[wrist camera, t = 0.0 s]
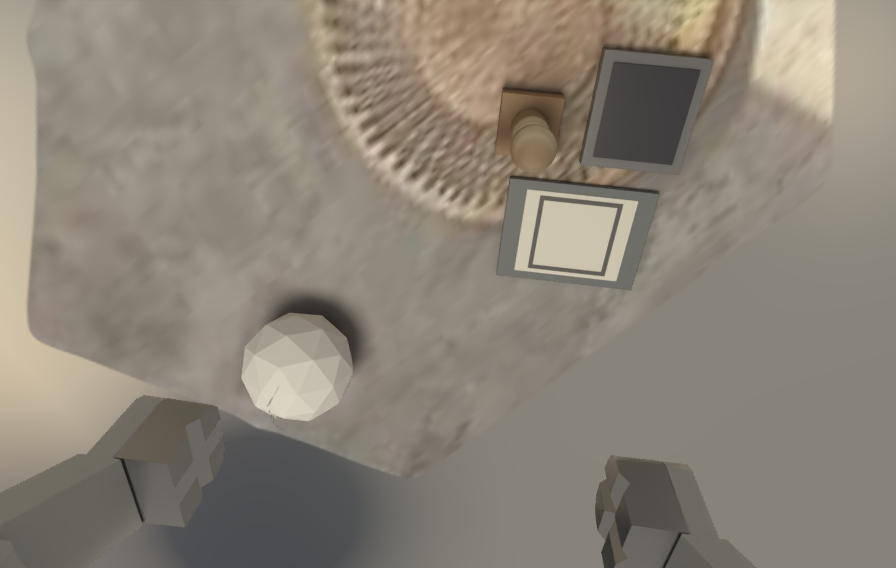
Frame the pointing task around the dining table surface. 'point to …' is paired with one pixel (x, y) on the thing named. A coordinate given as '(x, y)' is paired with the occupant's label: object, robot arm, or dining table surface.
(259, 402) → the geodesic sphere
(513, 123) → the hand stamp
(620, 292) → the dining table surface
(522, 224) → the document board
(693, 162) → the dining table surface
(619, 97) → the ink pad
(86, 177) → the dining table surface
